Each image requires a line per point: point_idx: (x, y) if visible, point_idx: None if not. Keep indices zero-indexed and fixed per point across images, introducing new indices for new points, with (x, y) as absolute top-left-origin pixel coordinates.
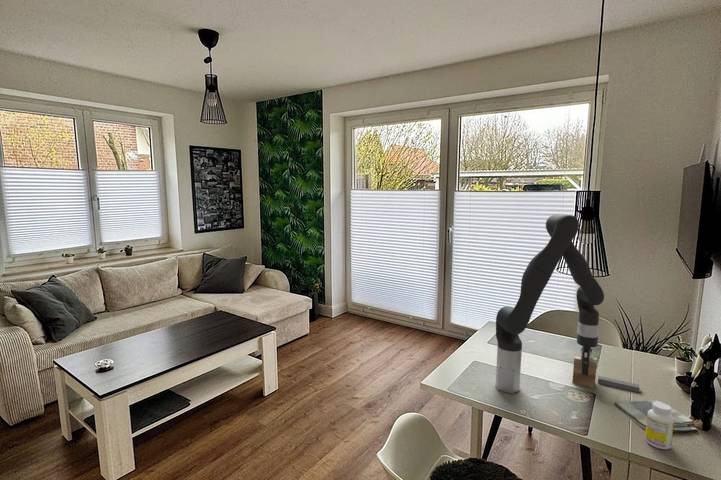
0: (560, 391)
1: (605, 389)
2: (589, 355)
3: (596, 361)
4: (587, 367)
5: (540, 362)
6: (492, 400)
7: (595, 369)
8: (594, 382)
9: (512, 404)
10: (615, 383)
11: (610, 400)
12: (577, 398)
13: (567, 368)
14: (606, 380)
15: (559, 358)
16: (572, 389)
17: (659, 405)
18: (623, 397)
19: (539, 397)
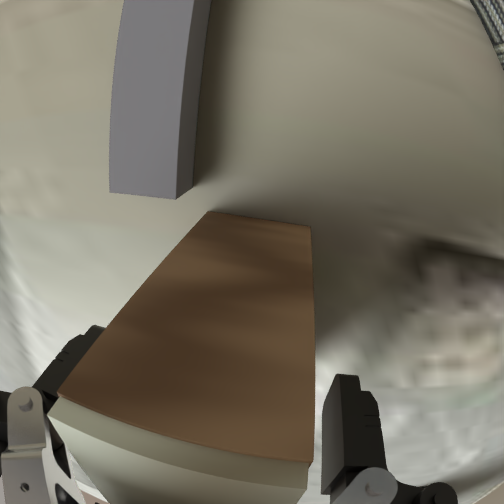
0: (423, 410)
1: (299, 136)
2: (52, 466)
3: (245, 481)
4: (362, 464)
5: None
6: (475, 494)
7: (310, 361)
8: (309, 253)
9: (500, 471)
10: (192, 43)
11: (489, 144)
12: (491, 345)
13: None
14: (178, 123)
15: (15, 349)
16: (389, 368)
17: None
18: (395, 19)
19: (473, 448)
